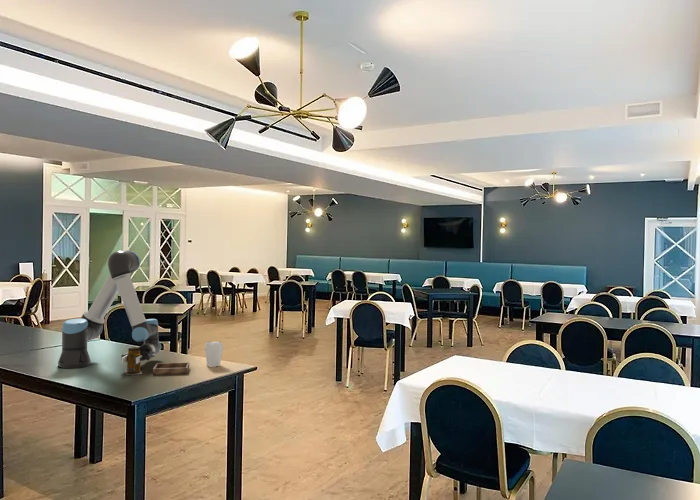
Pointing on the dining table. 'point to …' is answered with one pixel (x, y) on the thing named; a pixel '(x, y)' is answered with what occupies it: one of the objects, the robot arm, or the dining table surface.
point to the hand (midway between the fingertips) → (129, 360)
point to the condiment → (133, 361)
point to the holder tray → (170, 368)
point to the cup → (213, 353)
